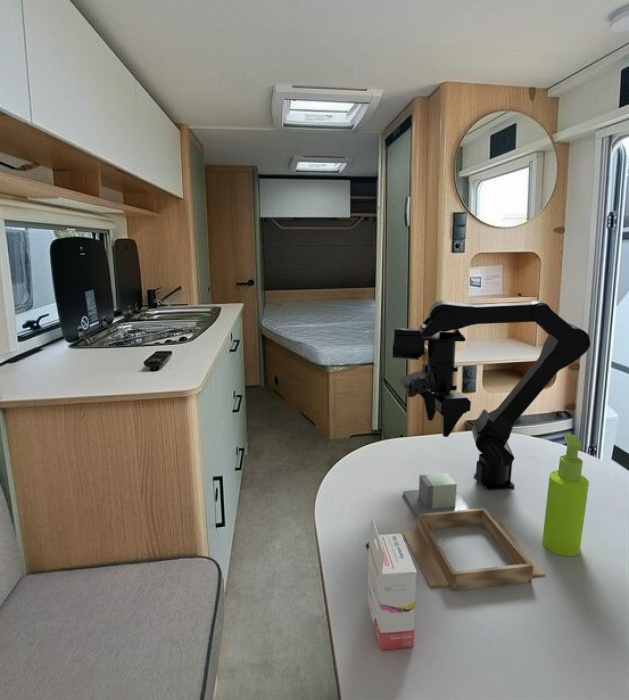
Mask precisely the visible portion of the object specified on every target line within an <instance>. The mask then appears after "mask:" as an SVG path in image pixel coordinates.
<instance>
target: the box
mask: <svg viewBox="0 0 629 700" xmlns="http://www.w3.org/2000/svg"><path fill="white" fill-rule="evenodd" d="M418 480H419V483H418V484H419V485H418V490H419V498H420V500H421V501H422V503H423V505H424V506H425V508H426V509H433V508H445V507H455V503H456V492H457V483H456V481H455V480H454V479H453V478H452V476H451V475H450V474H449V473H448V472H444V473H442V472H441V473H430V474H429V473H428V474H419V479H418Z"/></svg>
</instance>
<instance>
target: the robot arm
mask: <svg viewBox="0 0 629 700" xmlns="http://www.w3.org/2000/svg"><path fill="white" fill-rule="evenodd" d="M512 323H513V324H514V323H516V324H517V323H536V325H538V326H539V327H540V328H541V329H542V330H543V331H544V332H546V334H547V335H548V336H547V337H546V338H545V341H544V343H543V346H542V348H541V352H540V354H539V357H538V358H537V359H536V360H535V362H534V363H533V364H532V366H530V368H529V369H528V370H527V371H526V373H525V374H524V375H523V377H521V378H520V380H519V381H518V382H517V384H516V385H515V386H514V387H513V388H512V390H511V391H510V392H509V393H508V395H507V396H506V397H505V398H504V400H503V401H502V402H501V403H500V404H499V406H498V407H497V408H495V409H494V410H492V411H490V412H489V411H488V410H486V409H485V408H483V409H482V411H481V412H480V413H479V414H480V415H479V416H478V418H477V419H475V420H473V421H472V423H473V427H472V428H471V431H472V432H471V433H472V437H473V439H474V444H475V447H476V449H477V450H478V451H479V452H480V453H479V454H478V460H477V461H476V465H475V466H476V467H475V472H474V474H473V476H474V477H475V479H477V480H478V482H479V483H480V484H481V485H482V486H483V487H484V488H485V489H486V490H499V489H501V490H502V489H510V488H511V489H512V488H515V487H516V486H515V484H514V483H513V481H511V480H512V472H513V471H512V469H513V462H514V460H515V455H514V454H513V452H512V449H511V447H510V445H509V443H508V441H509V439H510V437H511V433H512V431H513V429H514V428H513V427H514V425H515V423H516V422H517V421H518V420H519V419H520V417H521V416H522V415H523V414H524V413H525V412H526V410H527V409H528V408H529V406H531V404H532V403H533V402H534V401H535V400H536V398H538V396H539V395H540V394H541V393H542V391H543V390H544V389H545V387H546V386H548V384H549V383H550V382H551V381H552V379H553V378H554V377H555V376H556V375H557V374H558V372H560V371H561V370H562V369H566V368H567V367H569V366H570V365H572V364H574V363H575V362H576V361H578V359H580V358H581V357H583V356H584V355H585V354H586V353H587V352H588V350H589V349H590V347H591V339H590V335H589V334H588V333H587V332H586V331H585V330H583V329H581V328H580V327H578V326H577V325H574V324H572V323H568V322H567V321H566V320H564V319H563V318H562V317H561V316H560V315H558V314H557V313H556V312H555V311H554V310H552V308H551V307H550V306H549V304H547V303H544V302H543V301H541V300H532V301H526V302H525V301H523V302H522V301H520V302H504V303H503V302H501V303H485V304H483V303H482V304H481V303H480V304H471V303H465V302H461V301H460V302H458V301H452V300H451V301H450V300H443V299H442V300H437V301H435V302H434V303H433V304H432V305H431V306H430V308H429V310H428V317H426V319H424V321H423V322H422V323H421V325H420V326H419V328H405V327H404V328H403V327H395V328H394V330H393V333H394V335H393V343H392V360H410V361H411V360H412V361H413V360H415V361H416V360H418V361H419V360H420V358H422V356H425V350H426V348H425V347H426V346H425V345H426V341H427V355H426V362H423V364H422V368H421V370H418V371H415V372H413V373H410V374H406V375H404V376H402V377H400V378H399V382H400V386H401V389H402V390H403V393H404V394H405V395H406V396H407V397H408V398H414V397H416V396H417V395H419V396H420V397H421V399H422V402H423V406H424V410H425V414H426V415H425V416H426V419H427V421H428V422H429V421H430V422H431V421H433V420H434V418H435V415H436V412H438V413H439V414H440V420H441V421H440V422H441V430H442V437H444V438H448V437H450V435H451V433H452V431H454V428H455V427H456V425H457V423H458V422H459V421H460V419H461V418H462V417H463V415H464V414H467V412H470V411H471V405H472V401H471V400H470V399H469V398H468V397H467V396H466V395H464V394H463V393H461V392H460V391H459V392H451V391H457V389H458V385H457V384H455V383H454V382H455V381H454V380H455V379H454V378H455V377H454V376H455V373H456V372H458V371H459V370H458V369H459V367H458V366H457V365H455V361H456V342H466V337H465V335H464V334H462V332H460V329H463V328H466V327H469V326H474V325H486V324H487V325H488V324H512Z"/></svg>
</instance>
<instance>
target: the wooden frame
mask: <svg viewBox="0 0 629 700" xmlns="http://www.w3.org/2000/svg"><path fill="white" fill-rule="evenodd" d="M477 525H481V526H482V527H483V528H484V529H485V530H486V532H488V534H489V536H490V537H491V538H492V539H493V540H494V541H495V543H496V544H497V546H498V547H499V548H500V549H501V550H502V552H503V553H504V554H505V555H506V557H507V558H508V559H509V560H510V562H511V565H510V564H509V565H502V566H492V567H491V566H490V567H483V568H474V569H473V568H472V569H464V570H455V569H454V568H453V566H452V564H451V562H450V560H449V559H448V557H447V556H446V554H445V552H444V551H443V549H442V548H441V546H440V544H439V542H438V541H437V539H436V537H435V536H434V534H433V533H432V531H431V530H433V529H445V528H456V527H466V526H477ZM416 529H417V530H409V531H402V534H403V536H404V538H405V540H406V541H407V544H408V546H409V548H410V550H411V552H412V555H413V556H414V558H415V560H416V562H417V563H418V566H419V568H420V570H421V571H422V574H423V576H424V578H425V579H426V582H427V584H428V585H429V588H432V589H433V588H441V587H442V588H443V587H449V588H450V591H451V592H455V591H464V590H473V589H481V588H492V587H498V586H499V587H500V586H509V585H518V584H526V583H532V581H533V578H534V577H543V576H546V573H545V571H544V570H543V569H542V568H541V567H540V566H539V564H538V563H537V562H536V561H535V560H534V558H533V557H531V556H530V554H529V553H528V551H526V550H525V548H524V547H523V546H522V545H521V544H520V543H519V542H518V540H517V539H516V538H515V537H514V536H513V534H511V532H510V531H509V530H508V529H507V528H506V527H505V526H504V524H503V523H502V522H496V520H495V519H494V518H493V517H492V515H491V514H490V513H489V511H487V510H486V508H485V507H483V508H481V507H480V508H470V509H469V510H458V511H447V512H436V513H425V514H417V518H416Z"/></svg>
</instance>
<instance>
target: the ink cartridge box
mask: <svg viewBox="0 0 629 700" xmlns="http://www.w3.org/2000/svg"><path fill="white" fill-rule="evenodd" d="M368 538H369V539H368V542H369V551H368V576H367V577H368V581H367V582H368V583H367V585H368V587H367V605H368V608H369V613H370V617H371V619H372V621H371V622H372V624H373V627H374V631H375V634H376V638H377V642H378V646H379V649H380V651H382V650H392V649H401V648H402V649H405V648H406V649H407V648H414V647H415V646H414V644H415V619H416V593H417V578H418V577H417V576H418V575H417V573H418V571H417V569H416V566H415V564H414V561H413V559H412V557H411V554H410V551H409V550H408V546H407V545H406V543H405V539H404V538H403V535H402V533H390V534H389V533H387V534H379V532H378V529H377V527H376V523H375V521H374V519H373V518H371V521H370V529H369V537H368Z"/></svg>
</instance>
